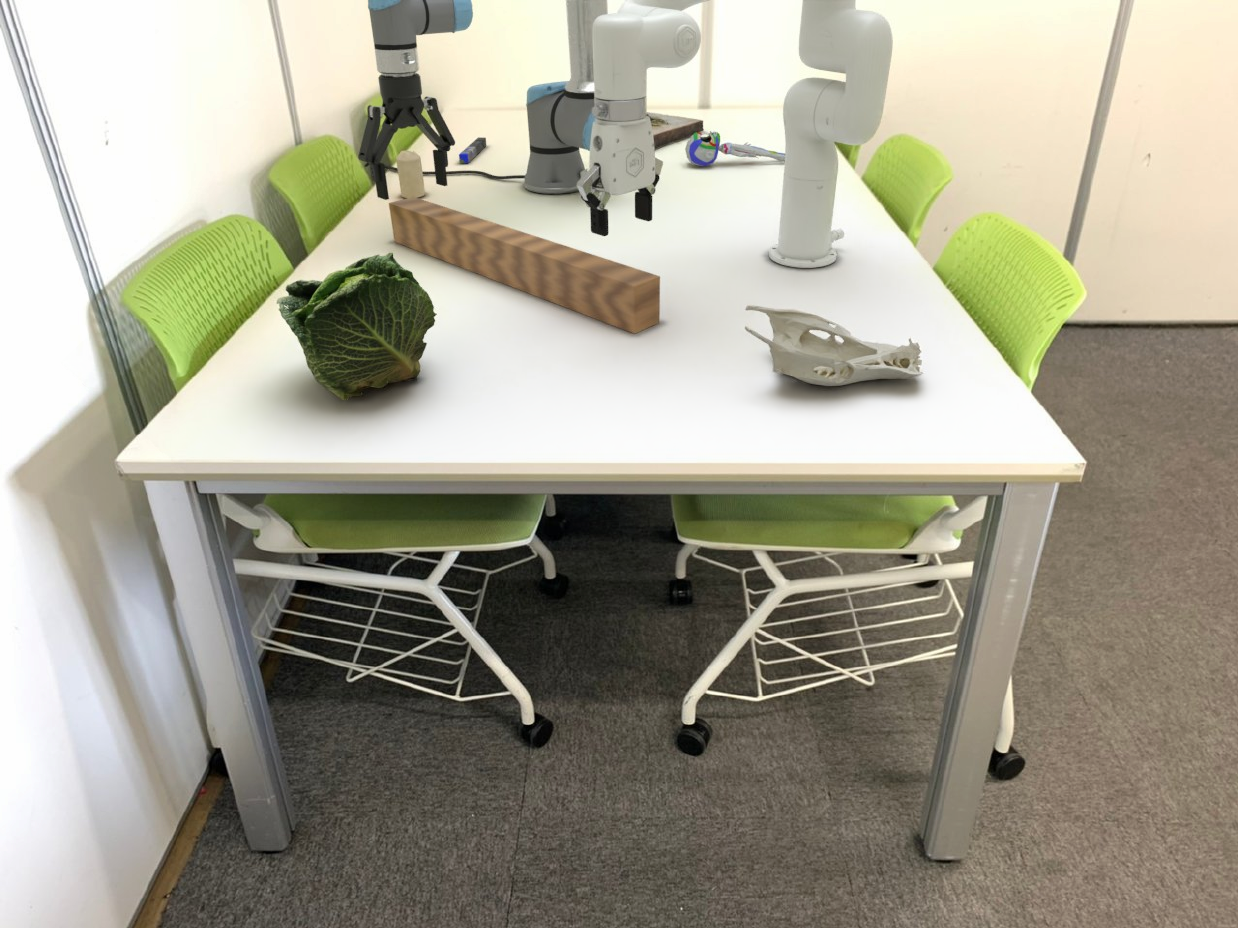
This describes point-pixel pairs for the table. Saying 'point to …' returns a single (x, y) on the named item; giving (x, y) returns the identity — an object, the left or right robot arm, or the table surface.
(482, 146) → the grey and blue rod
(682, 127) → the plaque
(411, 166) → the candle
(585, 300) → the bar
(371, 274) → the vegetable
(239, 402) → the table surface
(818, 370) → the anatomical model
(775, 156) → the toy
